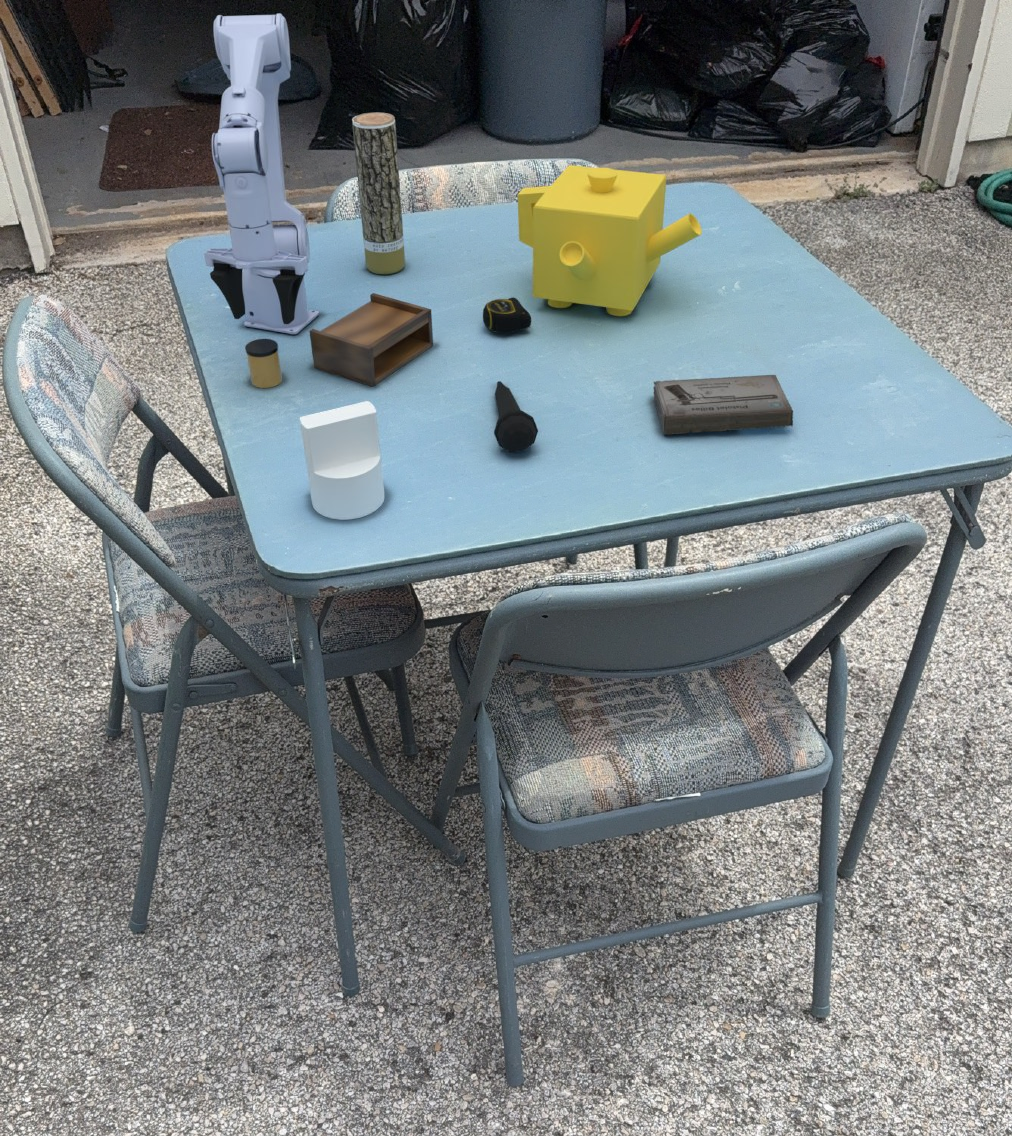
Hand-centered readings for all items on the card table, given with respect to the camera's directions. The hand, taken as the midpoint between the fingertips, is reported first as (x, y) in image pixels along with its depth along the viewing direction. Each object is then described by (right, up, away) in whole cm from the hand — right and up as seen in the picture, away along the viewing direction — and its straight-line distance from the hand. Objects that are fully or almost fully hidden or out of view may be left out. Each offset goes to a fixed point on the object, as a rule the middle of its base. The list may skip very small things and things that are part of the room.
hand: (264, 319), depth 159 cm
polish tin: (-1, -8, +6) cm, 10 cm away
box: (+63, -14, -3) cm, 65 cm away
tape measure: (+34, +3, +19) cm, 39 cm away
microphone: (+35, -15, -4) cm, 38 cm away
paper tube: (+13, +17, +37) cm, 43 cm away
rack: (+14, -3, +12) cm, 19 cm away
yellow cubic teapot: (+50, +10, +28) cm, 58 cm away
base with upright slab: (+14, -26, -18) cm, 35 cm away
